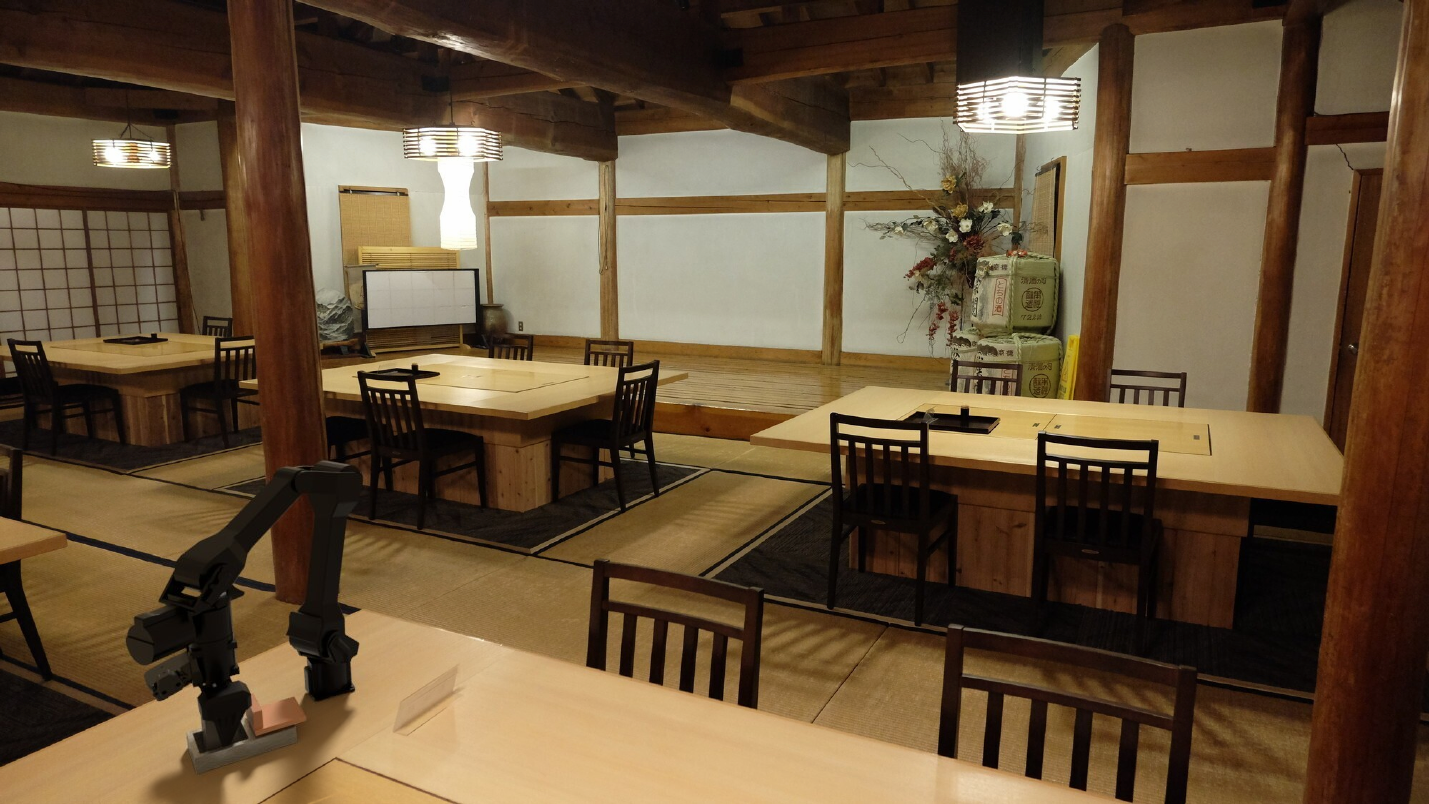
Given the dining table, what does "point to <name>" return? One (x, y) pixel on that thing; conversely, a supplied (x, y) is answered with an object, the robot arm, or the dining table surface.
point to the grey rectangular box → (237, 746)
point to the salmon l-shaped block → (274, 715)
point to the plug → (212, 736)
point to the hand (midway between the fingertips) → (220, 731)
